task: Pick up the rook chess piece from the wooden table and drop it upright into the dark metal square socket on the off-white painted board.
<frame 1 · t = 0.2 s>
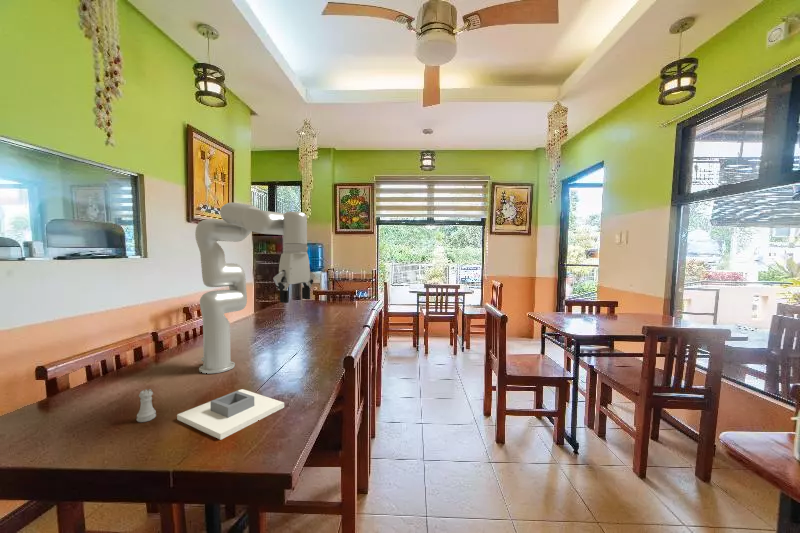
hand: (295, 300, 109), 31 cm above the table, tool pointing down, fingers open, 9 cm apart
socket board: (232, 413, 95), on the table
rook chess piece: (146, 419, 92), on the table
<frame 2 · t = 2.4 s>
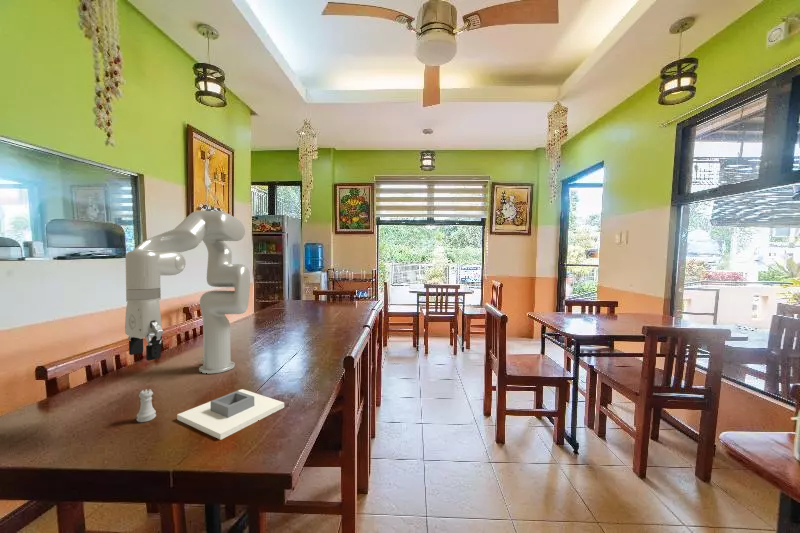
hand: (144, 356, 91), 18 cm above the table, tool pointing down, fingers open, 9 cm apart
nothing on the table moved.
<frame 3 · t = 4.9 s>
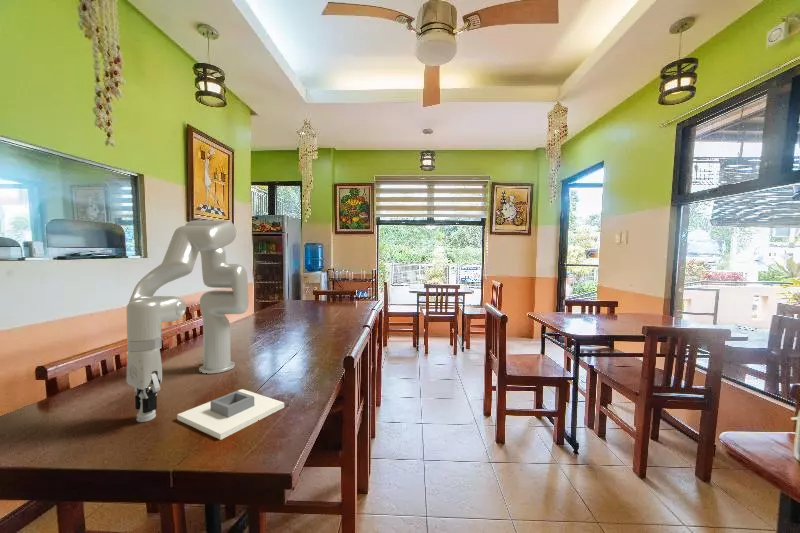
hand: (146, 408, 91), 3 cm above the table, tool pointing down, fingers closed on rook chess piece, 3 cm apart
rook chess piece: (146, 419, 92), on the table, touching gripper
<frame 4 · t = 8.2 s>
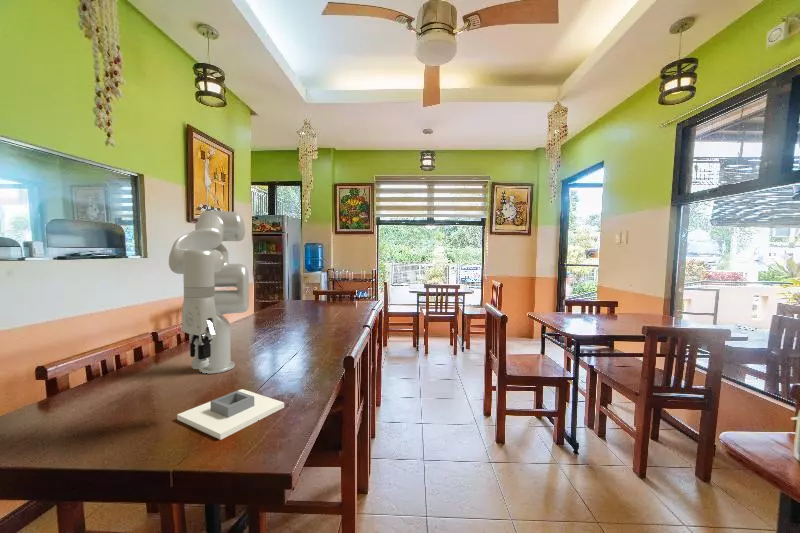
hand: (200, 356, 93), 17 cm above the table, tool pointing down, fingers closed on rook chess piece, 3 cm apart
rook chess piece: (200, 367, 93), point 14 cm above the table, touching gripper
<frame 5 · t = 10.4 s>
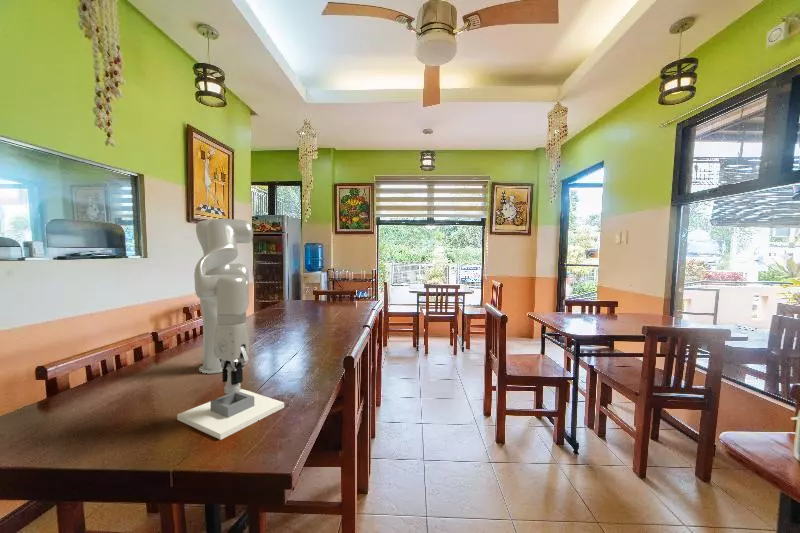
hand: (232, 381, 95), 9 cm above the table, tool pointing down, fingers closed on rook chess piece, 3 cm apart
rook chess piece: (232, 392, 95), point 6 cm above the table, touching gripper
when the fingers open (5 cm above the table, at t = 11.8 s): rook chess piece stays where it is, resting on socket board.
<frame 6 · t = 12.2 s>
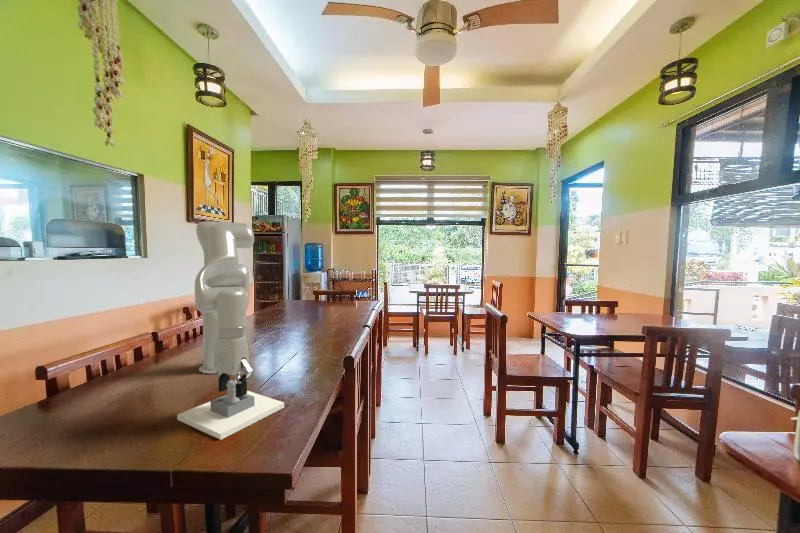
hand: (232, 392, 95), 6 cm above the table, tool pointing down, fingers open, 7 cm apart
rook chess piece: (232, 408, 95), point 1 cm above the table, touching socket board
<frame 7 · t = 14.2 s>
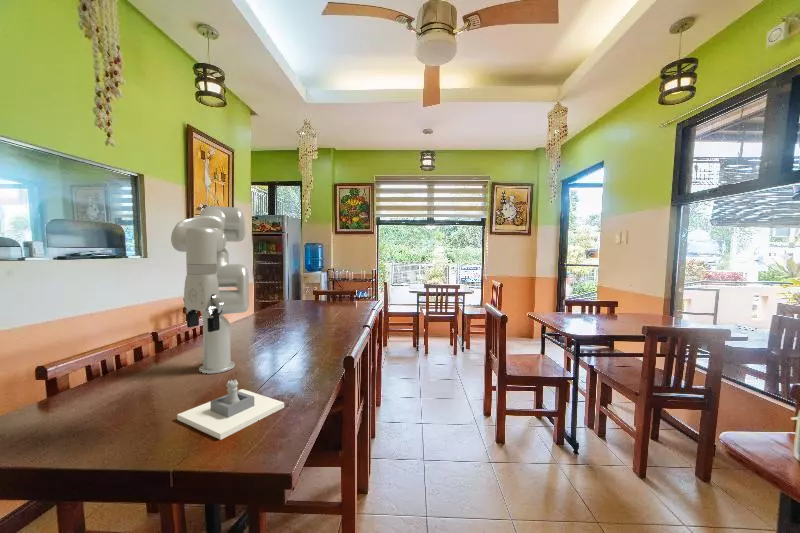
hand: (203, 328, 95), 25 cm above the table, tool pointing down, fingers open, 9 cm apart
nothing on the table moved.
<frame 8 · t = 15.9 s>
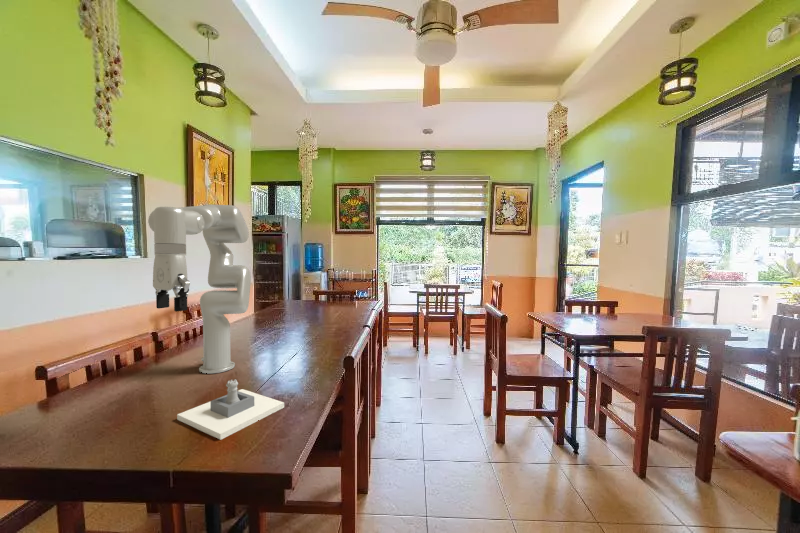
hand: (171, 309, 95), 30 cm above the table, tool pointing down, fingers open, 9 cm apart
nothing on the table moved.
at the end: rook chess piece 0.2 cm off-centre on the socket board, point 1.3 cm above the socket board's base; rook chess piece tilted 0°; the gripper is holding nothing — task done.
